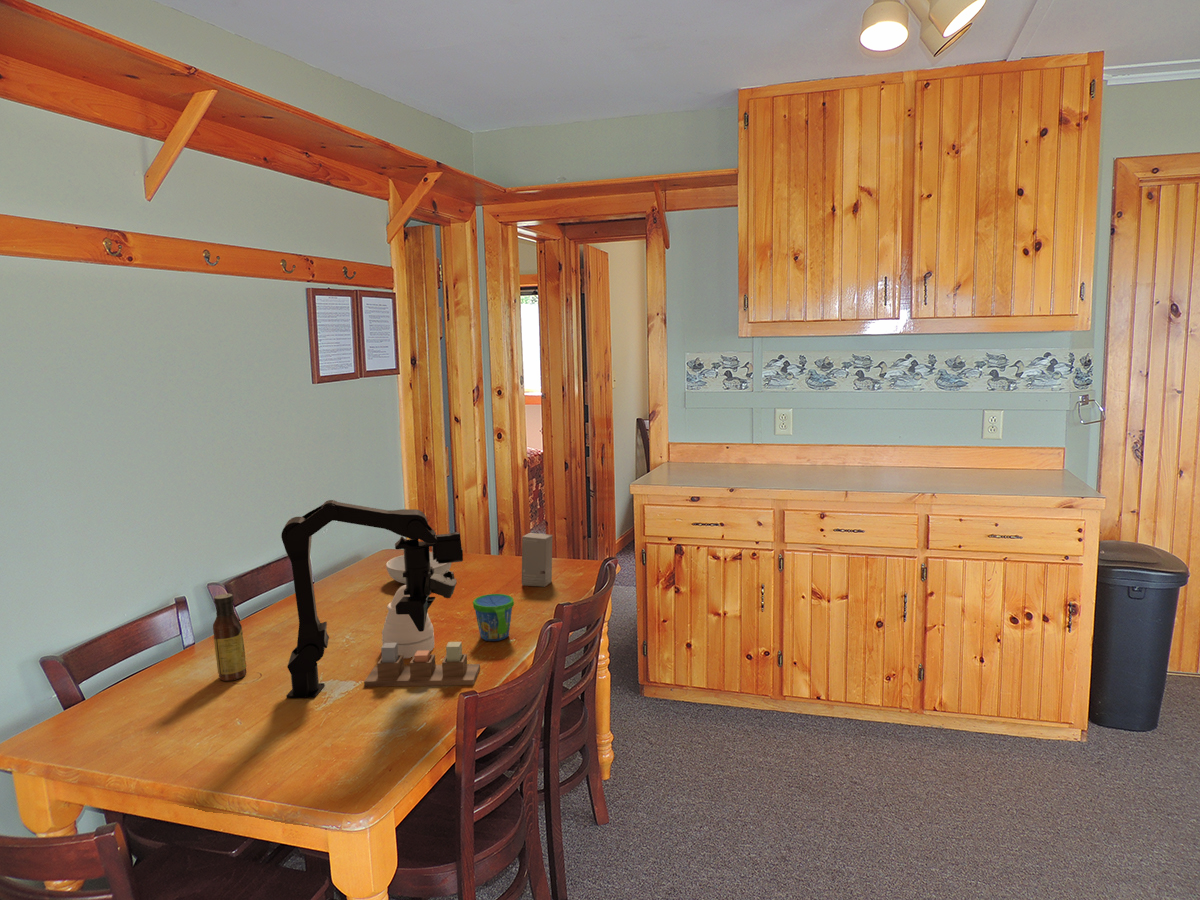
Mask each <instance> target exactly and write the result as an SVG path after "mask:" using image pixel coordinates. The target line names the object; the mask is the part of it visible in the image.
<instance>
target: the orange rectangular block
mask: <svg viewBox="0 0 1200 900" xmlns="http://www.w3.org/2000/svg"><path fill="white" fill-rule="evenodd" d="M430 655H431V651H430V650H423V651H417V652H416V653H415V655H414V662H429V660H430Z"/></svg>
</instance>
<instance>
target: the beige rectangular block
mask: <svg viewBox="0 0 1200 900" xmlns="http://www.w3.org/2000/svg"><path fill="white" fill-rule="evenodd" d="M445 650H446V651H445V652H446V654H445V656H446V655H447V662H454V661H462V654H463V645H462V641H448V642H447V644H446V646H445Z"/></svg>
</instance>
